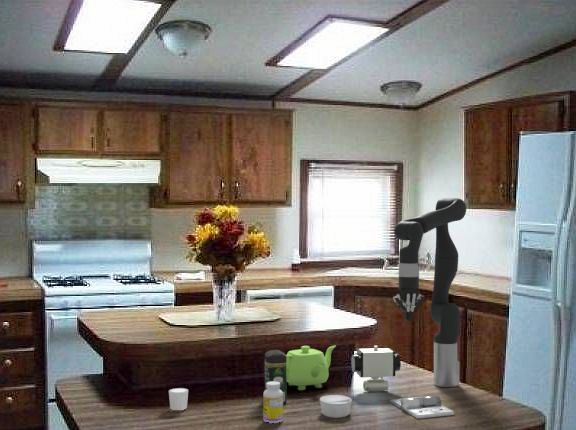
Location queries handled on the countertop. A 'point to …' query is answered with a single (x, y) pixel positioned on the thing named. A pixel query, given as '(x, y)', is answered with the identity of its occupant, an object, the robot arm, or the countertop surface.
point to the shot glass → (178, 398)
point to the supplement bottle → (273, 403)
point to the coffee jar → (276, 370)
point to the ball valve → (376, 367)
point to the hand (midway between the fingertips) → (408, 321)
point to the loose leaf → (423, 409)
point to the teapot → (308, 367)
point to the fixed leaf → (426, 400)
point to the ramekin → (335, 405)
